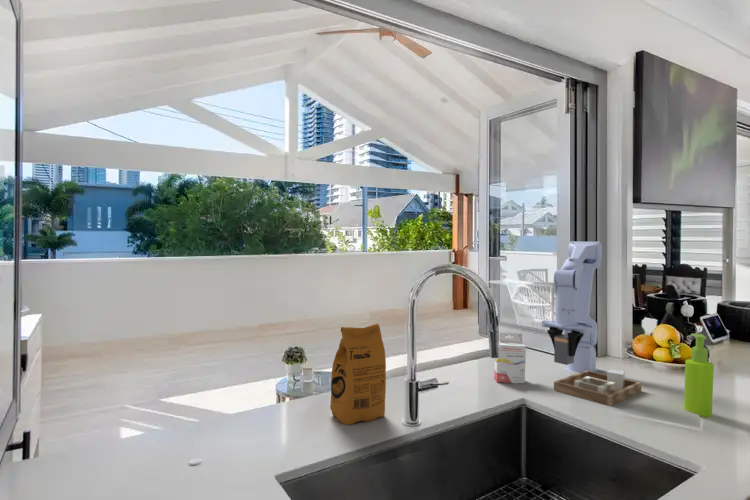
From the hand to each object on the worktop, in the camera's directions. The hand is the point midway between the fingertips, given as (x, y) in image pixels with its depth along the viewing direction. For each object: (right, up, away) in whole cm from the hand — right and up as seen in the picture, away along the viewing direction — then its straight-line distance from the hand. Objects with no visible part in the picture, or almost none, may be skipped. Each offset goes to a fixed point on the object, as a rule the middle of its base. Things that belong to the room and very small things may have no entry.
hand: (564, 354), depth 138 cm
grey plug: (+13, -9, -4) cm, 17 cm away
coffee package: (-62, -9, -27) cm, 68 cm away
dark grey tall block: (0, -2, 0) cm, 2 cm away
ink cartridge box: (-16, -9, +4) cm, 19 cm away
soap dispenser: (+26, -11, -20) cm, 34 cm away
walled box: (+7, -10, -6) cm, 13 cm away
